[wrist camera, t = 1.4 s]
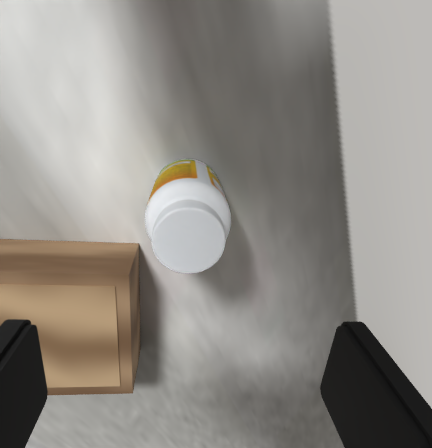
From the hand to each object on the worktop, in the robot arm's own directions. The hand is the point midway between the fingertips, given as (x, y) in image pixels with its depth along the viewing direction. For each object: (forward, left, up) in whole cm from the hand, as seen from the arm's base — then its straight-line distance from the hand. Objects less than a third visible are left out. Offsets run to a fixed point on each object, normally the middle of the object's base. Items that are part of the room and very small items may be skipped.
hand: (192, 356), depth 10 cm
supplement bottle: (0, 0, -17) cm, 17 cm away
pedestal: (+11, -10, -17) cm, 23 cm away
